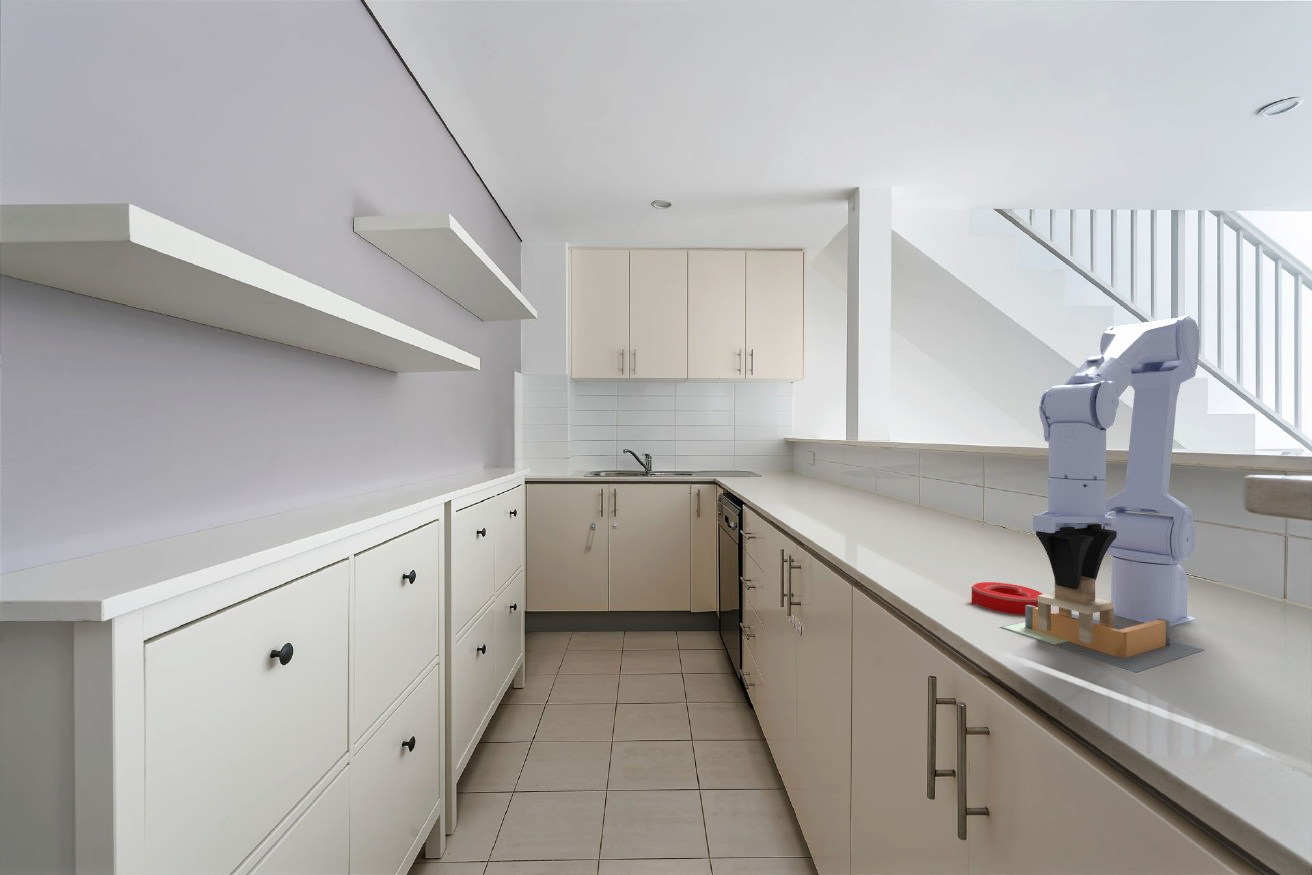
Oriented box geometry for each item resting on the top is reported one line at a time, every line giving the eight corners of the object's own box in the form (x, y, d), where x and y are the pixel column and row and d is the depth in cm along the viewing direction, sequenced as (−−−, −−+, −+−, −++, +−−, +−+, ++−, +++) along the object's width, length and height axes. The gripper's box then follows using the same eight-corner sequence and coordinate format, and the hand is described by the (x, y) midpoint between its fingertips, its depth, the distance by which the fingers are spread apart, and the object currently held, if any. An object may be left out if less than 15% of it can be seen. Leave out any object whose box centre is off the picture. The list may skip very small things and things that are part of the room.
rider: (1063, 622, 70) (1062, 570, 70) (1113, 636, 65) (1113, 580, 65) (1038, 628, 68) (1037, 574, 68) (1088, 643, 63) (1087, 584, 63)
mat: (1067, 616, 78) (1067, 612, 78) (1204, 654, 65) (1204, 649, 65) (999, 631, 72) (999, 627, 72) (1136, 677, 58) (1136, 672, 58)
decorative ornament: (957, 602, 86) (957, 582, 86) (1007, 599, 88) (1008, 580, 88) (1007, 622, 76) (1007, 600, 76) (1062, 618, 78) (1062, 597, 78)
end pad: (1031, 621, 74) (1031, 620, 74) (1084, 637, 68) (1084, 636, 68) (1003, 627, 72) (1003, 626, 72) (1055, 644, 66) (1055, 643, 66)
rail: (1070, 616, 76) (1071, 596, 76) (1171, 644, 66) (1171, 621, 66) (1023, 627, 72) (1023, 605, 72) (1124, 659, 61) (1124, 633, 61)
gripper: (1080, 482, 60) (1078, 601, 60) (1145, 479, 66) (1144, 587, 66) (1015, 477, 66) (1014, 585, 66) (1080, 475, 72) (1079, 574, 72)
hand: (1075, 585), depth 67 cm, fingers closed on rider, 3 cm apart
